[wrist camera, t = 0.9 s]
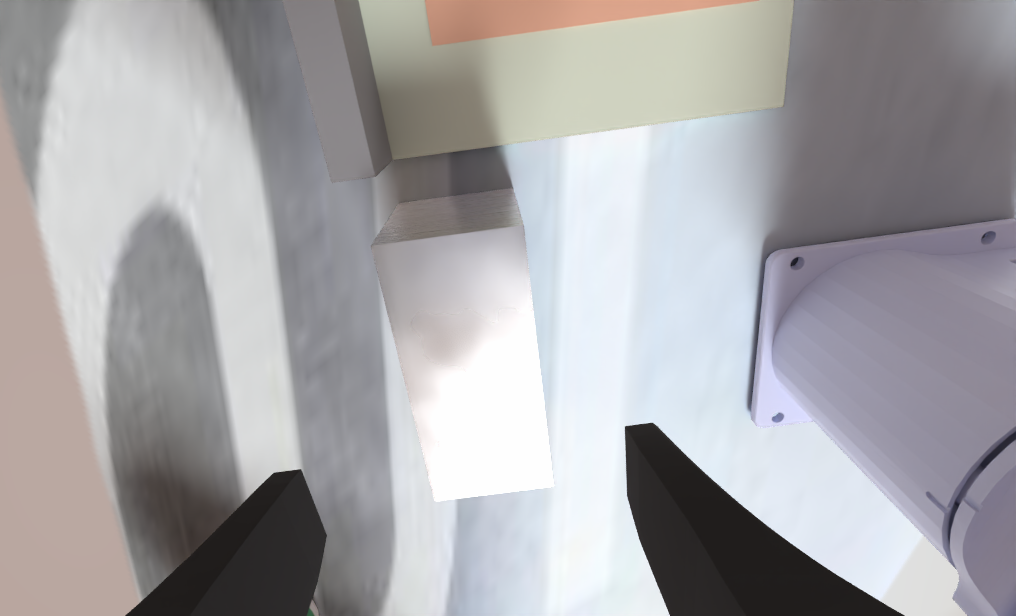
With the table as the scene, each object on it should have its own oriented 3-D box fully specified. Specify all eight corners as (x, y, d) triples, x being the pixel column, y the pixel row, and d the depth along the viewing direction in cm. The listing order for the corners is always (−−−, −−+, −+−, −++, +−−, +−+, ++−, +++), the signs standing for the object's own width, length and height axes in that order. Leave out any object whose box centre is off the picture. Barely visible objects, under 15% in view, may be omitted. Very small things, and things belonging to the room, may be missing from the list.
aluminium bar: (399, 202, 18) (370, 245, 13) (512, 186, 18) (523, 225, 13) (444, 411, 21) (434, 501, 17) (538, 399, 21) (553, 486, 17)
